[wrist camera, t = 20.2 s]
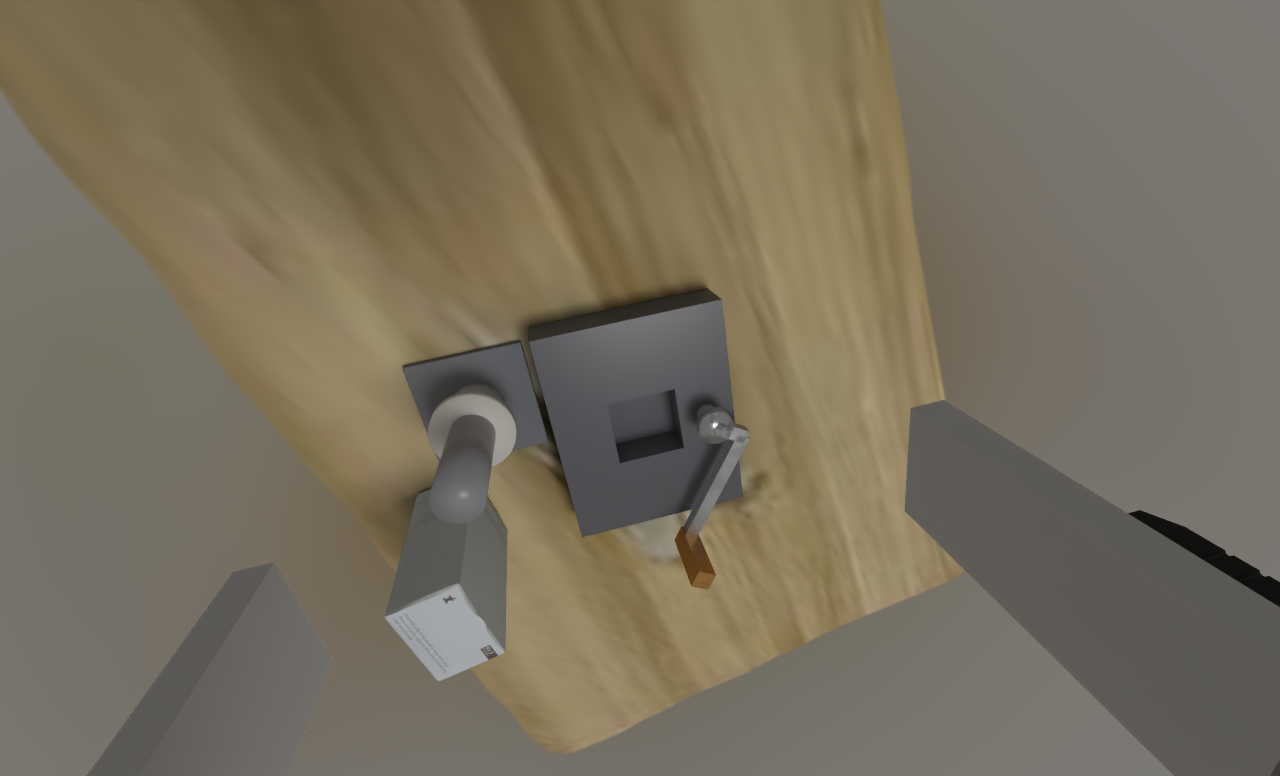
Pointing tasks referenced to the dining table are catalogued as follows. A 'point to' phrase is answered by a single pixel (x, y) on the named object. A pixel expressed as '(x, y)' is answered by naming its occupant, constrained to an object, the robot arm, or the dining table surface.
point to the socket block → (636, 406)
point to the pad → (482, 366)
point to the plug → (468, 450)
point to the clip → (710, 492)
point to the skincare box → (451, 590)
